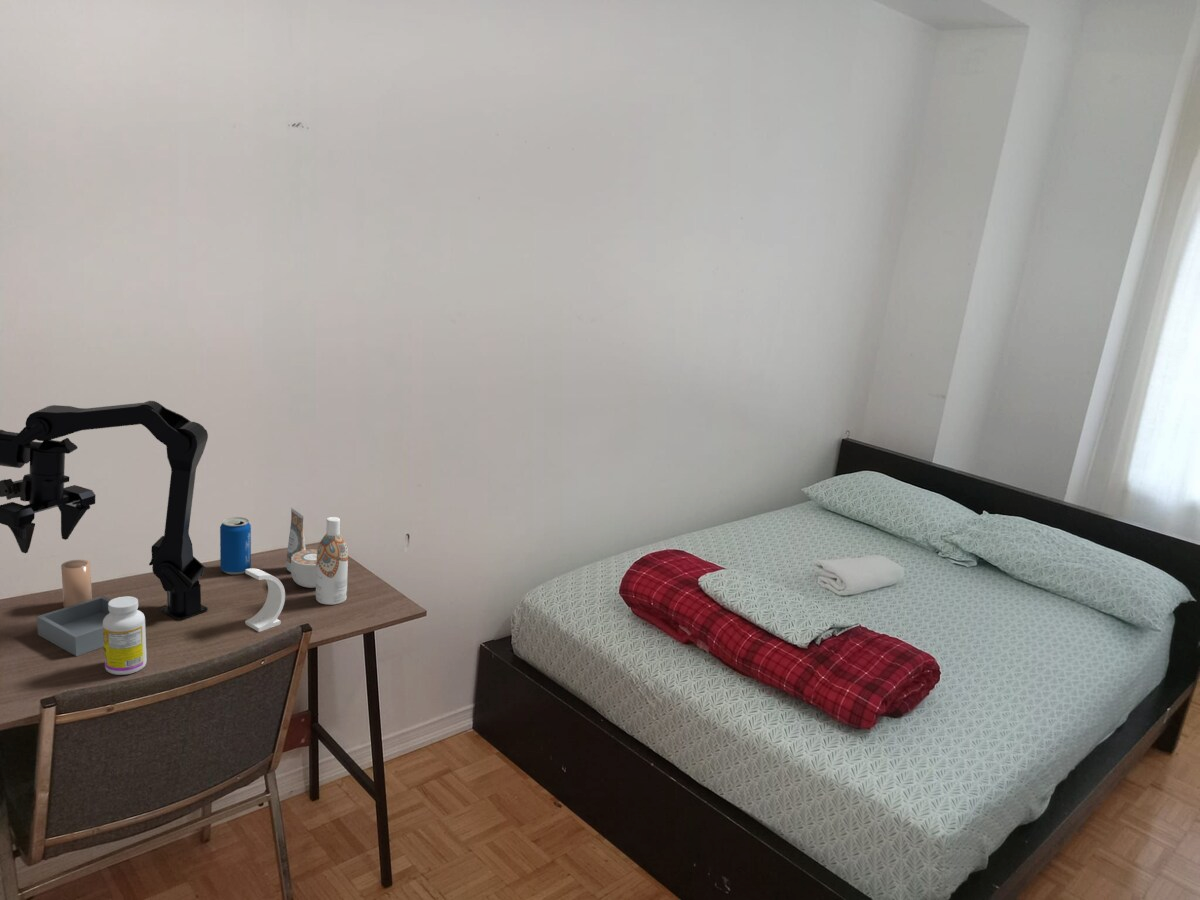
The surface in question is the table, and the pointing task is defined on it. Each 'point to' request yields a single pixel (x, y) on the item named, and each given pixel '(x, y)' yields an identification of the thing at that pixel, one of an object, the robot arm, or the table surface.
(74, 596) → the cup
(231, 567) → the beverage can
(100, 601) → the tray
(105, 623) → the supplement bottle
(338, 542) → the cosmetic set
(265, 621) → the headphone stand
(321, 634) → the table surface
